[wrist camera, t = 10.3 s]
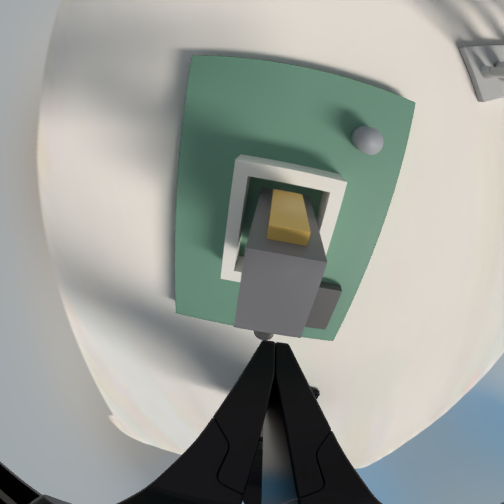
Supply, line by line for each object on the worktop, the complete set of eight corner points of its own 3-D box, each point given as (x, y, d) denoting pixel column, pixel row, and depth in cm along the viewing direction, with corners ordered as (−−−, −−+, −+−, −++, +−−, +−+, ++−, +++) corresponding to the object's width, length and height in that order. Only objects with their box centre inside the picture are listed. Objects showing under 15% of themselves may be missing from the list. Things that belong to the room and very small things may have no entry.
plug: (290, 270, 19) (291, 359, 12) (249, 263, 19) (230, 349, 12) (311, 187, 16) (332, 248, 9) (263, 178, 16) (247, 232, 9)
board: (331, 331, 23) (335, 357, 21) (180, 304, 24) (168, 328, 21) (407, 102, 14) (430, 102, 11) (197, 58, 14) (180, 49, 11)
